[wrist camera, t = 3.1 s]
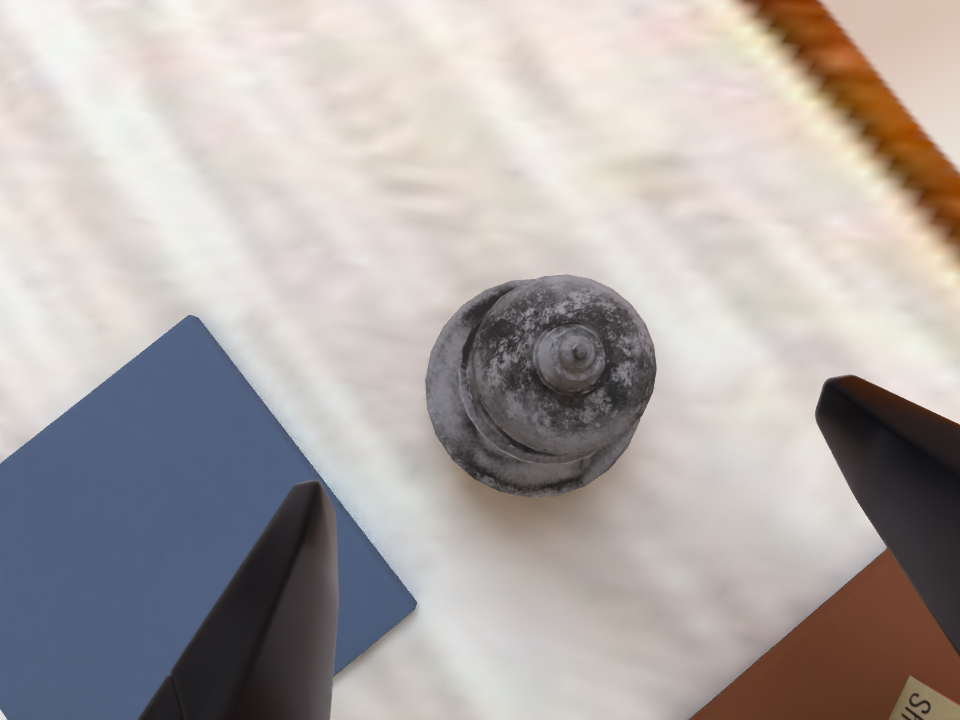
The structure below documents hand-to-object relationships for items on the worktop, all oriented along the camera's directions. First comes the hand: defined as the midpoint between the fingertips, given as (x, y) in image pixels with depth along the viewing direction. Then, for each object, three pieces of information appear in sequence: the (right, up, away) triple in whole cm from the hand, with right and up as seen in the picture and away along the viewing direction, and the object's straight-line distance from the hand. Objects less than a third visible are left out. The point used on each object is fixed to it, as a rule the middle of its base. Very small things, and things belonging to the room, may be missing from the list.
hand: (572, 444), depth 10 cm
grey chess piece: (0, 0, +9) cm, 9 cm away
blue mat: (-12, -5, +9) cm, 16 cm away
